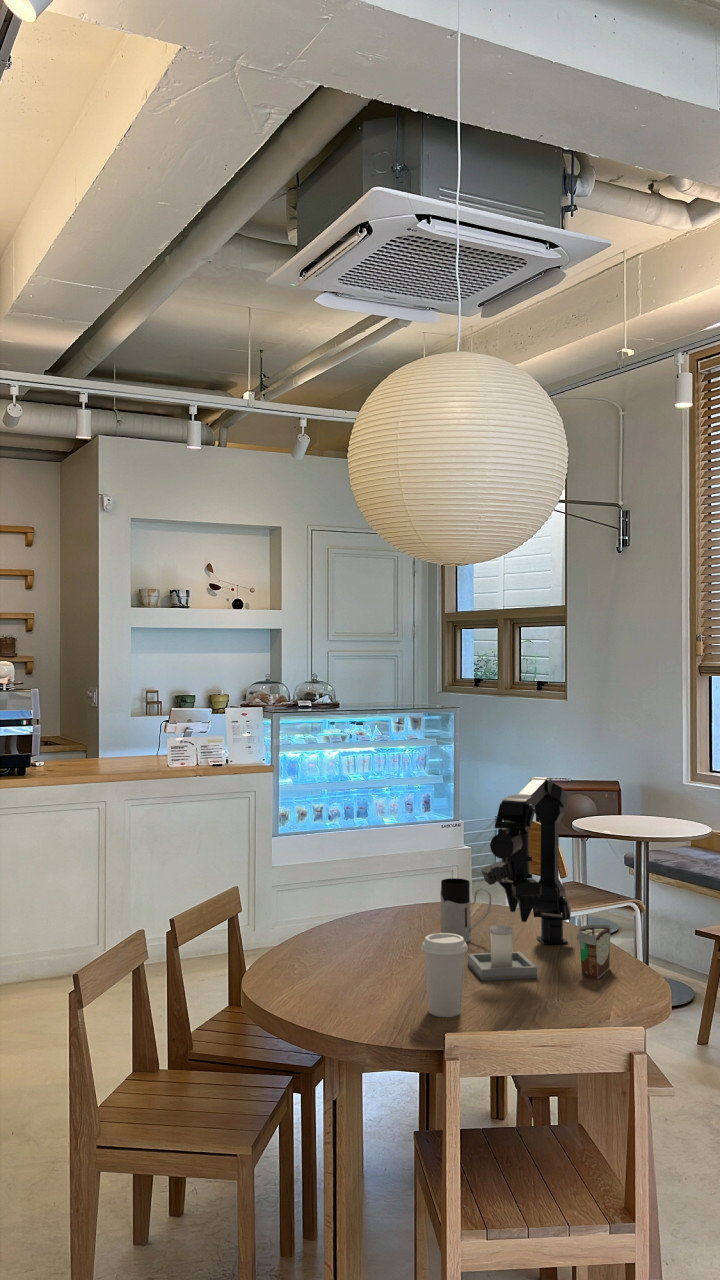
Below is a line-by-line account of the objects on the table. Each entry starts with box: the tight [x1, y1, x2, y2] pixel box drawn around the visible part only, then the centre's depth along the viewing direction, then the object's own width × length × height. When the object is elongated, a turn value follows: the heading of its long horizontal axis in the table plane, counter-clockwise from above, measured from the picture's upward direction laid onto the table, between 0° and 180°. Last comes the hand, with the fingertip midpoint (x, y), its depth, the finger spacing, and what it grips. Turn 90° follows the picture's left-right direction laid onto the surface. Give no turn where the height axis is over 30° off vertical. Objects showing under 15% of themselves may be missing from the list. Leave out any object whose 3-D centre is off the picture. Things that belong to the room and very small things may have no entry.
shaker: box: [489, 924, 513, 968], centre depth 227 cm, size 5×5×9 cm
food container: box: [576, 923, 612, 980], centre depth 227 cm, size 12×6×10 cm, turn 149°
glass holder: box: [440, 878, 492, 943], centre depth 255 cm, size 9×14×15 cm, turn 64°
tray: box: [467, 951, 538, 982], centre depth 227 cm, size 13×13×2 cm
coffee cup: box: [421, 932, 469, 1018], centre depth 200 cm, size 10×10×15 cm
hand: (518, 916), depth 232 cm, fingers open, 9 cm apart
